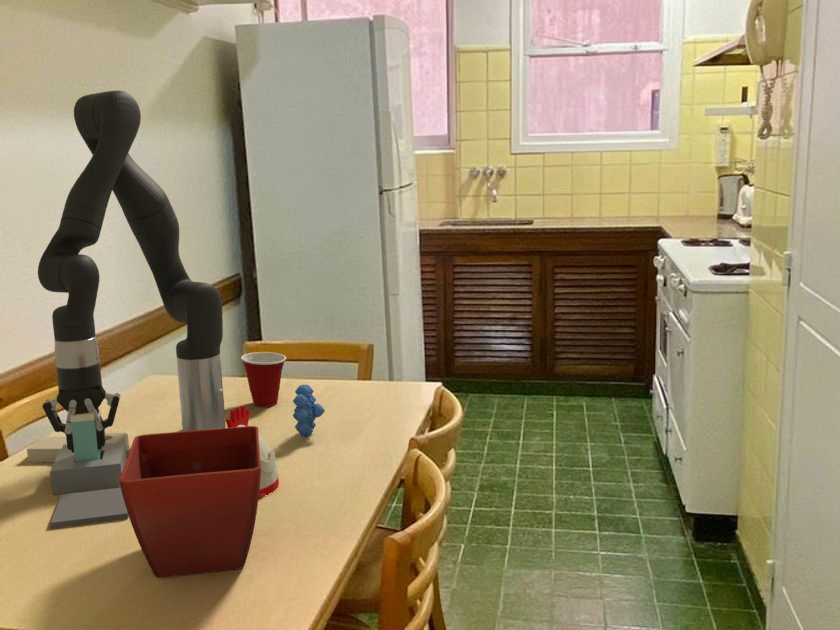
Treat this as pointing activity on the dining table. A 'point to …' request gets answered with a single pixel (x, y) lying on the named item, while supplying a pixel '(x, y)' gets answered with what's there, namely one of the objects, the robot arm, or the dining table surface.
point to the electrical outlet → (64, 446)
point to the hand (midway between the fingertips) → (87, 449)
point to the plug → (84, 437)
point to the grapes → (306, 410)
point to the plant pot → (193, 498)
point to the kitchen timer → (267, 457)
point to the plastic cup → (264, 376)
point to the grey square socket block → (88, 470)
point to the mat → (89, 508)
